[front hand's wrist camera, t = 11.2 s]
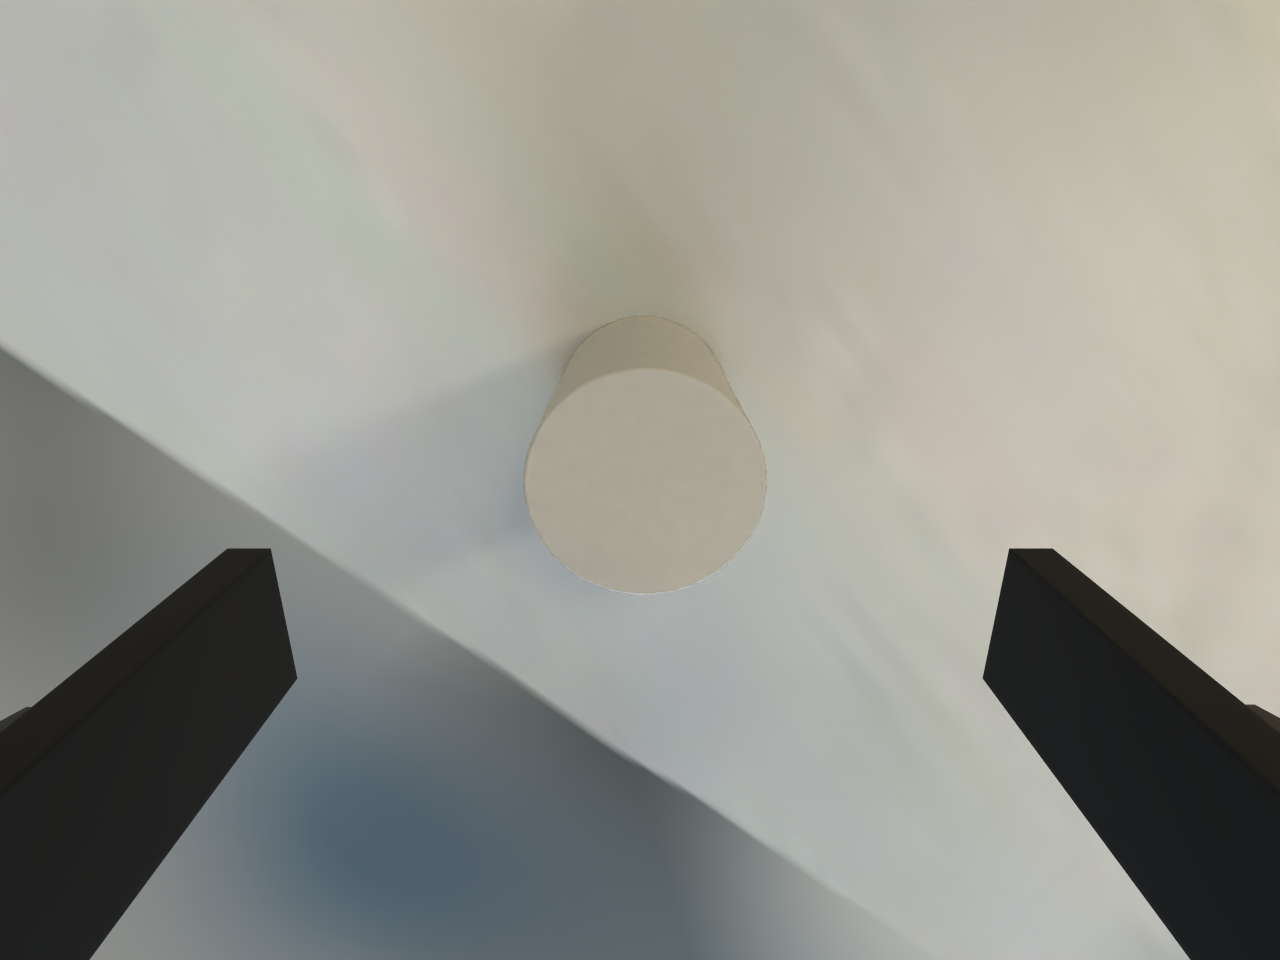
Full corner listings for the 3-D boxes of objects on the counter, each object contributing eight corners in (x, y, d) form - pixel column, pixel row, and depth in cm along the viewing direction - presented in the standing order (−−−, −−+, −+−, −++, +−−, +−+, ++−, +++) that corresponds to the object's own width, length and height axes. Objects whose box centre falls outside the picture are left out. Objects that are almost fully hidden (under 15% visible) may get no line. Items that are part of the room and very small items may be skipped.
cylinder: (529, 415, 28) (475, 511, 19) (626, 280, 27) (619, 314, 17) (658, 505, 30) (666, 635, 21) (759, 383, 28) (818, 466, 19)
